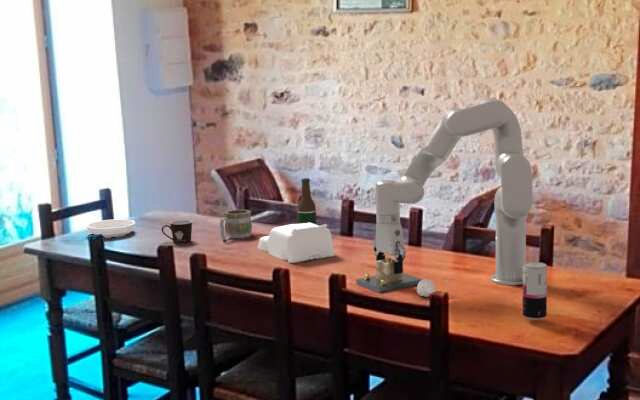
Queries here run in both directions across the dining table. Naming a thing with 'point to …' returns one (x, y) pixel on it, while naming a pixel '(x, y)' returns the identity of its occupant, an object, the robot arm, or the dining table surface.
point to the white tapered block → (298, 242)
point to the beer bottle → (306, 204)
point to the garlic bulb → (425, 288)
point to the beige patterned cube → (386, 271)
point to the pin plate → (384, 286)
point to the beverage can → (534, 290)
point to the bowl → (111, 227)
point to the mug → (236, 224)
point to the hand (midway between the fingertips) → (389, 270)
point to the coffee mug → (180, 231)
